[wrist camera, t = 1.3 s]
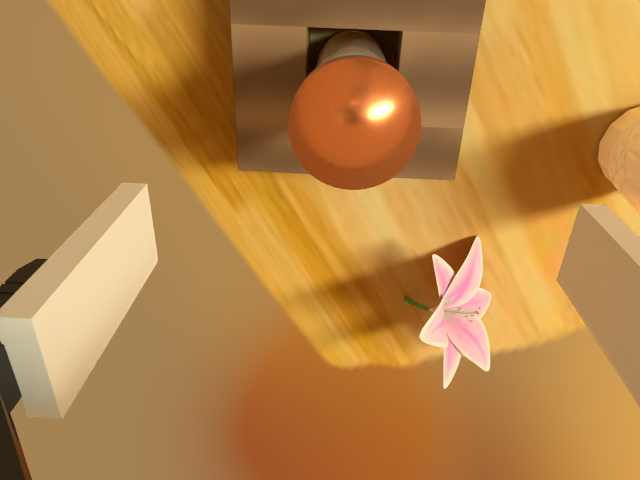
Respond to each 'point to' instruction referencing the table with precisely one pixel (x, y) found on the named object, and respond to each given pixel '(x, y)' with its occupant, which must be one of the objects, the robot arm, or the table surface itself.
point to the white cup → (623, 156)
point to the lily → (459, 313)
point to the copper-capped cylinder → (354, 115)
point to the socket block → (409, 59)
